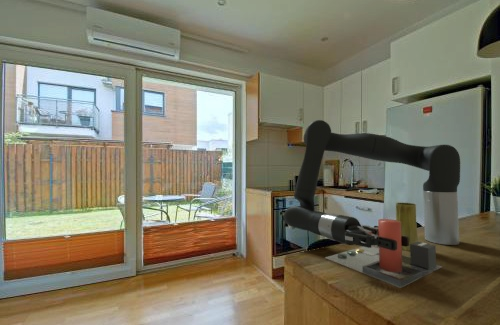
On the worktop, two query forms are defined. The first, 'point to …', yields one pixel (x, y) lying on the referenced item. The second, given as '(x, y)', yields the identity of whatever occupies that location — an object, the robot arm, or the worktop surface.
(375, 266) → the panel
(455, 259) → the worktop surface
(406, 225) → the vase
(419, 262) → the breaker
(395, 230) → the red tapered cylinder
